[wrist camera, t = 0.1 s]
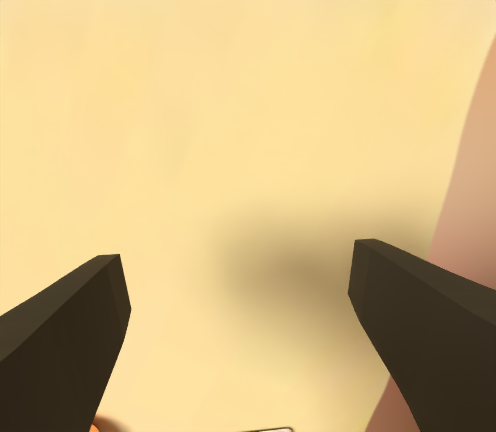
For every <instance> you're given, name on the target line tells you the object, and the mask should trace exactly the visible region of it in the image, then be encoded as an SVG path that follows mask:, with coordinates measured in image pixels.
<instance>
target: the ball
mask: <svg viewBox="0 0 496 432" xmlns="http://www.w3.org/2000/svg"><path fill="white" fill-rule="evenodd" d="M89 432H99V431H98V429H97V428H96V427H95V426H94V425H91V428H90V431H89Z"/></svg>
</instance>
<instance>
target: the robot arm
mask: <svg viewBox="0 0 496 432" xmlns="http://www.w3.org/2000/svg"><path fill="white" fill-rule="evenodd" d="M348 295H349V297H350V300H351V302H352V305H353V308H354V310H355V312H356V314H357V317H358V319H359V321H360V323H361V325H362V327H363V328H364V330H365V332H366V334H367V335H368V337H369V339H370V340H371V342H372V344H373V346H374V347H375V349H376V351H377V352H378V354H379V356H380V357H381V359H382V361H383V362H384V364H385V366H386V367H387V369H388V371H389V372H390V374H391V376H392V377H393V379H394V381H395V382H396V384H397V386H398V387H399V389H400V391H401V393H402V395H403V397H404V399H405V400H406V402H407V404H408V406H409V408H410V410H411V412H412V414H413V416H414V419H415V421H416V423H417V425H418V427H419V429H420V431H421V432H496V290H494V289H491V288H488V287H486V286H483V285H481V284H478V283H476V282H473V281H471V280H468V279H466V278H464V277H461V276H459V275H456V274H454V273H451V272H449V271H447V270H445V269H442V268H440V267H438V266H436V265H433V264H431V263H429V262H427V261H425V260H423V259H420V258H418V257H416V256H414V255H412V254H410V253H407V252H405V251H403V250H401V249H399V248H396V247H394V246H392V245H390V244H387V243H385V242H382V241H379V240H376V239H361V240H355V243H354V251H353V259H352V266H351V274H350V281H349V289H348ZM130 313H131V305H130V300H129V296H128V291H127V286H126V282H125V277H124V272H123V268H122V263H121V258H120V254H113V255H98V256H96V257H94V258H93V259H91V260H89V261H87V262H86V263H84V264H83V265H81V266H79V267H78V268H76V269H75V270H73V271H72V272H70V273H69V274H67V275H66V276H64V277H62V278H61V279H59V280H58V281H56V282H55V283H53V284H52V285H50V286H49V287H47V288H46V289H44V290H42V291H41V292H39V293H38V294H36V295H35V296H33V297H31V298H30V299H28V300H26V301H25V302H23V303H21V304H20V305H18V306H16V307H15V308H13V309H11V310H10V311H8V312H6V313H5V314H3V315H2V316H0V432H89V431H90V428H91V425H92V422H93V420H94V417H95V414H96V412H97V409H98V407H99V404H100V401H101V399H102V396H103V394H104V391H105V389H106V386H107V383H108V381H109V378H110V376H111V373H112V371H113V368H114V366H115V363H116V360H117V358H118V355H119V352H120V350H121V347H122V344H123V342H124V338H125V334H126V331H127V327H128V322H129V318H130ZM261 432H292V431H291V430H290V429H278V430H270V431H261Z"/></svg>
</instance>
